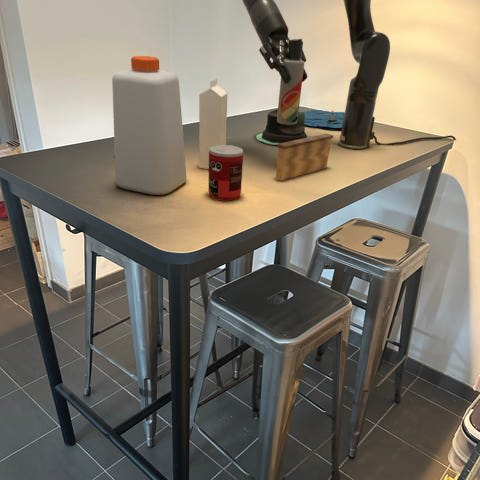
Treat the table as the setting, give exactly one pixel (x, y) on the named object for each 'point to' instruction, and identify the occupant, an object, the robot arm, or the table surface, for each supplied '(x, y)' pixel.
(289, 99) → the lotion bottle
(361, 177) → the table surface
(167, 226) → the table surface
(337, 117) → the decorative plate
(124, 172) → the plastic bottle
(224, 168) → the canned food
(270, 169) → the table surface
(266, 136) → the chocolate cake
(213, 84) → the milk
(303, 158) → the wall panel
